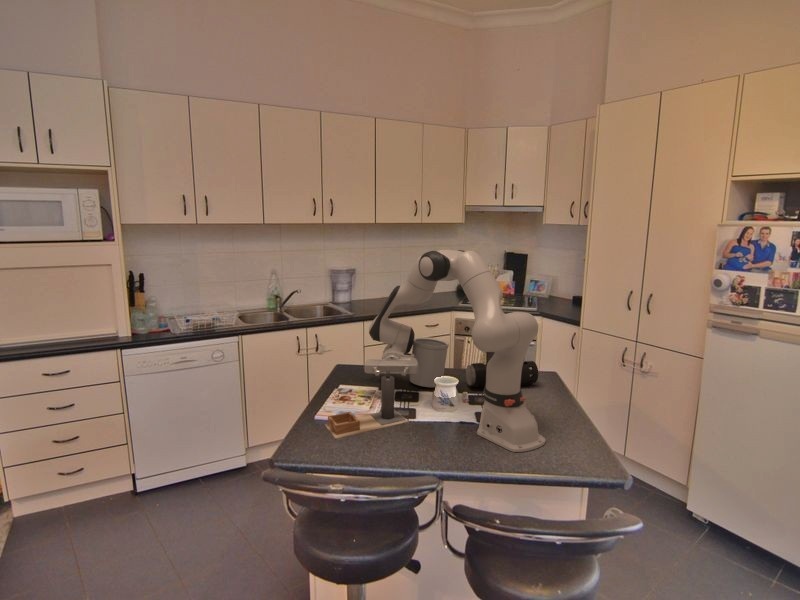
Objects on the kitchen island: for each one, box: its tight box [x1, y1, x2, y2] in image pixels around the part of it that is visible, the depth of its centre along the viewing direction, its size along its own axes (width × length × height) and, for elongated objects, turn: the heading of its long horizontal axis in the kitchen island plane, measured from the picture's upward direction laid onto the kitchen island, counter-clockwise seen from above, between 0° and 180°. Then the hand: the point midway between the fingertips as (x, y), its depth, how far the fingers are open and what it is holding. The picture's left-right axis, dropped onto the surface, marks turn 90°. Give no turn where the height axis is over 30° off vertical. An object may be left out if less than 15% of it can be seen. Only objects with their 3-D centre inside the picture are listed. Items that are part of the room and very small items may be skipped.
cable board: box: [323, 408, 410, 439], centre depth 156 cm, size 11×26×4 cm, turn 118°
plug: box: [380, 369, 395, 419], centre depth 159 cm, size 4×4×17 cm
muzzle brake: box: [465, 360, 539, 389], centre depth 192 cm, size 10×28×10 cm, turn 100°
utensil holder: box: [409, 336, 449, 388], centre depth 194 cm, size 15×15×18 cm
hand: (390, 373), depth 170 cm, fingers open, 8 cm apart
